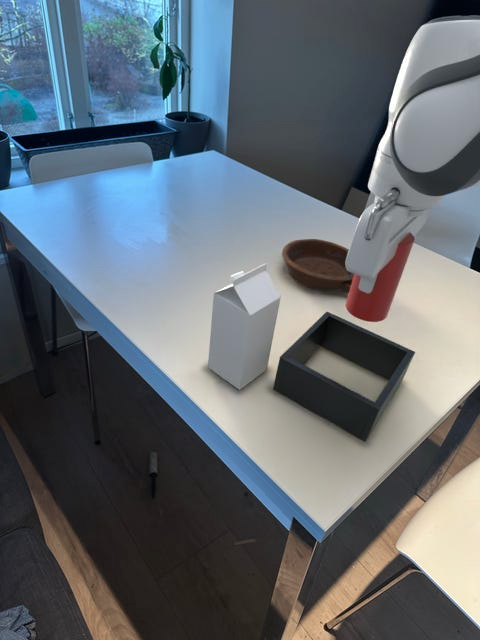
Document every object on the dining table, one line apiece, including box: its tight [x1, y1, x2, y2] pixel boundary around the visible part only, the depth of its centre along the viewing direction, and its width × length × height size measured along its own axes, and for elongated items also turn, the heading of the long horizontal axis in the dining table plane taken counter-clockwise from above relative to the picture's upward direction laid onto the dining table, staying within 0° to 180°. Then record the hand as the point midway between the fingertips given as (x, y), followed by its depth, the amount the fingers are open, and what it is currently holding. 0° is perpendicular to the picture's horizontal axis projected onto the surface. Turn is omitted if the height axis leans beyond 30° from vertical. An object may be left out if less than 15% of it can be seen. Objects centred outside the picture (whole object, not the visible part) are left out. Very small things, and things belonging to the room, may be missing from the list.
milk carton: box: [207, 262, 282, 391], centre depth 69 cm, size 7×7×19 cm
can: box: [345, 233, 416, 323], centre depth 61 cm, size 6×6×12 cm
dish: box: [281, 238, 354, 294], centre depth 100 cm, size 18×22×5 cm
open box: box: [272, 311, 416, 443], centre depth 72 cm, size 16×16×7 cm
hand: (376, 278), depth 61 cm, fingers closed on can, 6 cm apart
